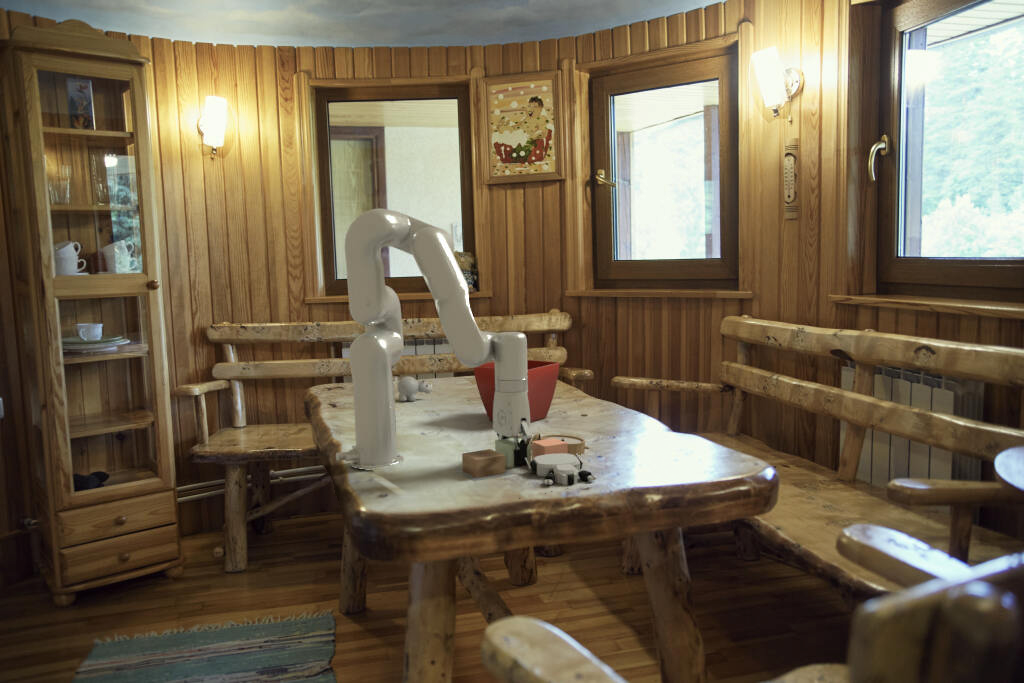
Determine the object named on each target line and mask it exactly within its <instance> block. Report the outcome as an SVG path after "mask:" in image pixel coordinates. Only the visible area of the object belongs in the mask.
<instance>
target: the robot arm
mask: <svg viewBox="0 0 1024 683" xmlns="http://www.w3.org/2000/svg"><path fill="white" fill-rule="evenodd" d="M383 247H391V248H395V249H396V250H400V251H402V252H404V253H407V254H408V255H412V256H413V258H414V261H415V264H416V265H417V266H418V269H419V271H420V273H421V275H422V277H423V279H424V282H425V284H426V285H427V288H428V289H429V292H430V294H431V296H432V298H433V301H434V305H435V308H436V312H437V315H438V319H439V322H440V325H441V328H442V331H443V333H444V335H445V337H446V340H447V342H448V344H449V346H450V349H451V350H452V352H453V354H454V356H455V357H456V359H457V360H458V361H459V363H460V364H462V365H463V366H465V367H466V368H471V369H472V368H474V367H478V366H481V365H482V364H486V363H490V362H495V395H494V403H493V421H492V430H493V432H494V433H496V436H497V440H502V439H509V438H513V439H514V444H515V449H516V450H514V467H515V468H517V467H523V466H528V464H527V462H526V460H525V458H527V449H528V445H529V442H530V441H531V440H532V438H533V434H532V433H531V422H530V410H529V401H528V395H527V393H528V370H527V360H528V339H527V336H526V334H525V333H523V332H520V331H501V332H495V331H485V330H480V329H479V327H478V325H477V322H476V320H475V317H474V316H473V312H472V310H471V307H470V299H469V298H470V289H469V283H468V282H467V280H466V278H465V276H464V273H463V271H462V269H461V267H460V265H459V263H458V261H457V258H456V257H455V254H454V251H455V241H454V239H453V236H452V235H451V234H450V233H449V232H448V231H447V230H445V229H443V228H440V227H437V226H434V225H432V224H429V223H427V222H424V221H422V220H419V219H418V218H415V217H412V216H410V215H407V214H406V213H402V212H400V211H396V210H391V209H387V208H373V209H370V210H369V209H368V210H366V211H364V212H363V213H362V214H359V215H358V216H357V217H356V218H355V219H354V220H353V221H352V222H351V224H350V225H349V227H348V228H347V232H346V235H345V239H344V255H345V265H346V279H347V280H346V281H347V282H346V283H347V294H348V304H349V305H348V306H349V308H348V309H349V313H350V316H351V317H352V319H353V320H354V322H355V323H357V324H359V325H360V326H364V331H365V332H363V333H362V334H360V335H358V336H357V337H356V338H355V339H354V340H353V341H352V343H351V345H350V347H349V352H348V362H349V367H350V368H349V369H350V373H351V379H352V388H353V390H352V391H353V392H352V393H353V408H354V424H355V425H354V426H355V427H354V429H355V445H352V447H351V448H352V449H348V451H340V452H336V453H335V459H336V461H337V462H339V461H345V462H350V463H349V466H350V465H351V466H353V467H356V468H363V469H371V468H382V467H390V466H393V465H397V464H400V463H401V462H404V461H405V458H404V457H403V455H400V454H398V444H397V423H396V422H397V420H396V417H397V415H396V398H395V396H396V395H395V394H396V392H395V383H394V377H393V371H392V366H394V365H396V363H398V362H399V361H400V359H401V358H402V356H403V353H404V348H405V347H404V343H405V342H404V330H403V320H402V319H403V318H402V317H403V316H402V309H401V301H400V299H399V296H398V295H397V293H396V292H395V290H394V289H393V288H392V287H390V286H388V285H386V281H385V267H384V262H383V258H382V254H381V253H382V252H381V251H382V248H383ZM518 439H522V440H521V441H520V443H519V441H518ZM351 466H350V467H351Z"/></svg>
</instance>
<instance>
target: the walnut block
mask: <svg viewBox="0 0 1024 683" xmlns="http://www.w3.org/2000/svg"><path fill="white" fill-rule="evenodd" d="M461 456H462V458H461V460H462V461H461V463H462V469H463V471H464V472H466V473H468V474H470V475H472V476H474V477H476V478H481V477H487V476H492V475H498V474H504V473H505V470H506V466H505V455H503V454H501V453H498V452H496V451H495V450H493V449H491V448H488V449H484V450H483V449H482V450H476V451H471V452H470V451H468V452H465V453H464V452H463V453H461Z"/></svg>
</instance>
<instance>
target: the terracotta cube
mask: <svg viewBox="0 0 1024 683" xmlns="http://www.w3.org/2000/svg"><path fill="white" fill-rule="evenodd" d="M530 441H531V440H530ZM531 444H532V449H531V461H533V458H535V457H536V456H540V455H546V454H558V453H565V454H568V445H567V443H566V442H563V441H560V440H557V439H555V438H552V439H545V440H538V441H531Z"/></svg>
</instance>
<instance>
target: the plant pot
mask: <svg viewBox="0 0 1024 683" xmlns="http://www.w3.org/2000/svg"><path fill="white" fill-rule="evenodd" d="M527 370H528V393H527V395H528V401H529V410H530V423H533V422H536V421H539V420H542V419H545V418H547V417H548V414H549V411H550V408H551V405H552V402H553V399H554V395H555V391H556V387H557V384H558V383H557V381H558V377H559V373H560V372H559V371H560V362H557V361H548V360H547V361H546V360H535V359H534V360H533V359H527ZM473 374H474V378H475V379H474V380H475V382H476V386H477V389H478V393H479V395H480V400H481V402H482V405H483V408H484V409H485V412H486V415H487V417H488V419H489V421H491V422H493V403H494V395H495V362H494V361H490V362H486V363H484V364H482V365H481V366H478V367H474V368H473Z"/></svg>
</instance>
